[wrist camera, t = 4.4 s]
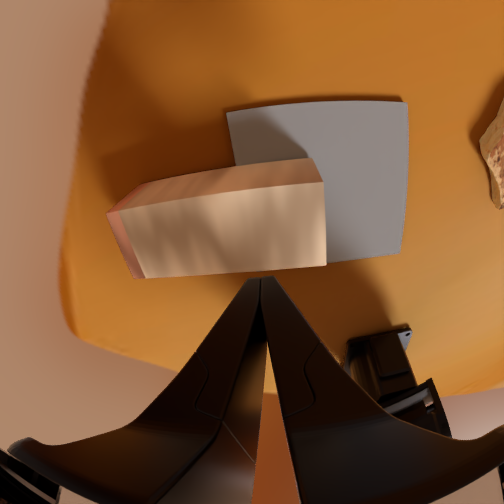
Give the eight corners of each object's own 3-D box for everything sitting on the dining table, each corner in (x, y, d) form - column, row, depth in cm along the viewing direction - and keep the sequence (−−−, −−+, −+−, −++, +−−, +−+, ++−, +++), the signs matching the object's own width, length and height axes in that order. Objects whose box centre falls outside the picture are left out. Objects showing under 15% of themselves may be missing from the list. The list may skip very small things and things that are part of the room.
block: (326, 265, 12) (133, 279, 14) (317, 224, 16) (159, 240, 17) (323, 182, 10) (105, 213, 12) (311, 157, 13) (139, 184, 15)
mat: (397, 250, 17) (399, 253, 17) (256, 268, 18) (256, 271, 18) (404, 102, 12) (407, 102, 12) (226, 112, 13) (225, 112, 13)
